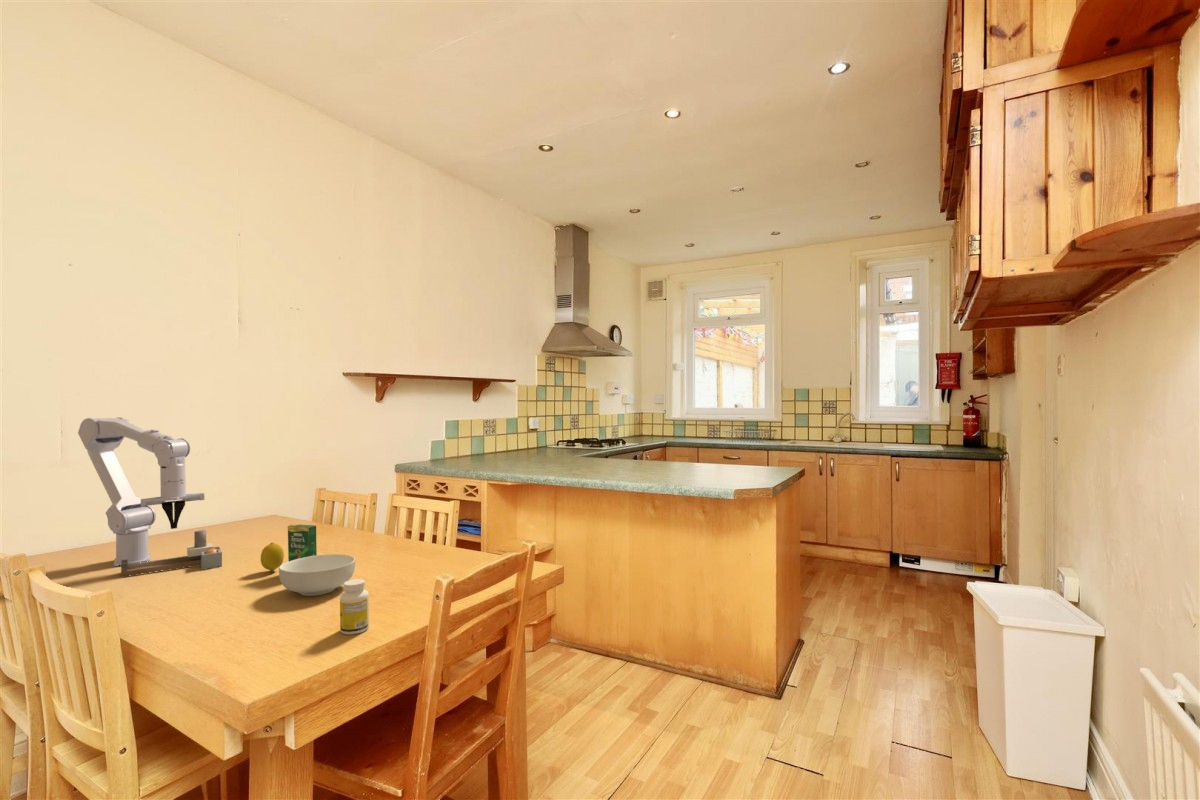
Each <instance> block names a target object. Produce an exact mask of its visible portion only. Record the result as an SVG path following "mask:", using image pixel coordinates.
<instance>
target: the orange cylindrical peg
mask: <svg viewBox="0 0 1200 800" xmlns="http://www.w3.org/2000/svg"><path fill="white" fill-rule="evenodd" d="M210 553H217V549H209V550H206V554H210Z"/></svg>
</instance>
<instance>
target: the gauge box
mask: <svg viewBox="0 0 1200 800" xmlns="http://www.w3.org/2000/svg"><path fill="white" fill-rule="evenodd" d="M218 566H221V567H223V551H222V549H221V548H220V549H217V553H210V554H206V551H203V552H201V565H200V568H201V567H202V568H201V570H206V569H205V568H209V569H213V568H212V567H215V568H219V567H218Z"/></svg>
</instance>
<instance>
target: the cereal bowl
mask: <svg viewBox="0 0 1200 800" xmlns="http://www.w3.org/2000/svg"><path fill="white" fill-rule="evenodd" d="M355 567H356V558H355V556H352V555H349V554H343V553H342V554H341V553H332V554H329V553H328V554H327V553H326V554H318V555H316V556H309V557H304V558H299V559H295V560H292V561H289V560H288V561H287V562H284V563H282V564H281V565H280V566H279V567H278V577H279V578H278V579H279V581H280V584H281V585H282V586H283V587H284V588H285V589H286V590H288V591H291V592H294V593H295V592H296V593H299V594H300V595H301V596H306V597H314V596H322V595H326V594H329V593H332V592H334V591H335V590H336V589H337V588H339V587H341V586H343V584H344V582H346V581H348V580H351V578H352V577H353V575H354V572H355Z"/></svg>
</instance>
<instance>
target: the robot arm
mask: <svg viewBox="0 0 1200 800" xmlns="http://www.w3.org/2000/svg"><path fill="white" fill-rule="evenodd" d="M77 435H78V436H79V438H80V441H81V442H82V445H83V446H84V449H86V451H87V454H88V455H87V456H89V458H90V461H91V463H92V465H93V467H94V469H95V471H96V473H97V475H98V478H99V480H100V481H101V483H102V485H103V487H104V490H105V491H106V494H107V495H108V497H109V500H110V502H111V505H110V506H109V507H108V508H107V509H106V511H105V515H106V518H107V526H108V528H109V529H110V531H112V532H113V533H112V534H115V558H114V560H113V561H114V562H113V567H119V565H120V566H121V562H122V560H126V559H128V564H134V563H140V562H147V561H151V554H150V553H149V529H151V528H152V527H151V526H152V525H153V524H154V523H155V522H156V518H157V515H156V514H157V513H156V511H155V509H154V508H153V507H152V506H157V505H161V508H162V509H163V511H164V513H165V514H166V517H167V519H168V522H169V526H170V529H171V530H174V529H178V523H179V519H180V517H181V513H182V512H183V510H184V508H185V506H186V502H195V501H196V502H197V501H204V500H205V492H200V493H199V492H198V493H187V490H186V458H187V457H189V456H188V455H190V451H191V446H190V443H189V442H188V440H186V439H185V438H183V437H182V438H176V439H175V438H173V437H172V436H171V435H168V434H167V435H166V434H165V433H162V432H160V430H159V429H156V428H153V429H151V428H150V429H147V430H144V429H142V428H141V427H138V426H137V425H134V424H132V423H131V422H130V421H129V419H127V418H126V419H125V418H123V417H102V418H101V417H100V418H93V417H87V418H84V419H83V420H82V421H81V423H80V425H79V429H78V431H77ZM125 438H127V439H129V440H133V441H135V442H137V443H136V444H137V446H138V447H139V448H141V449H143V450H146V451H148V452H150V453H153V454H154V456H155V458H156V459H157V464H158V466H159V471H160V472H159V473H160V477H159V479H160V484H159V485H160V496H154V497H147V498H140V497H138V496H136V495H135V492H134V490H133V489H132V487H131V485H130V483H129V480H128V478H127V477H126V474H125V473H124V470H123V468H122V466H121V464H120V462H119V460H118V458H117V456H116V454H115V452H114V451H115V449H117V448H119V446H120V445H121V443H122V442H123V440H124V439H125Z"/></svg>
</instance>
